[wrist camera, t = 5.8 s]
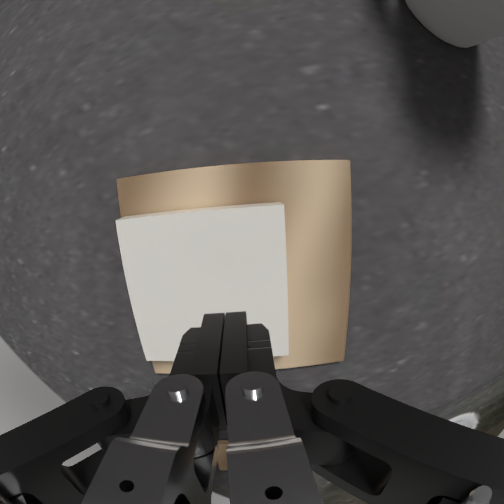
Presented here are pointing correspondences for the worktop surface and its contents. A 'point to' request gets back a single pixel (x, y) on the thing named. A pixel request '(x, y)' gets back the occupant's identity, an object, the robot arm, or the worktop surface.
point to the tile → (205, 271)
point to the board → (297, 237)
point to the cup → (461, 19)
